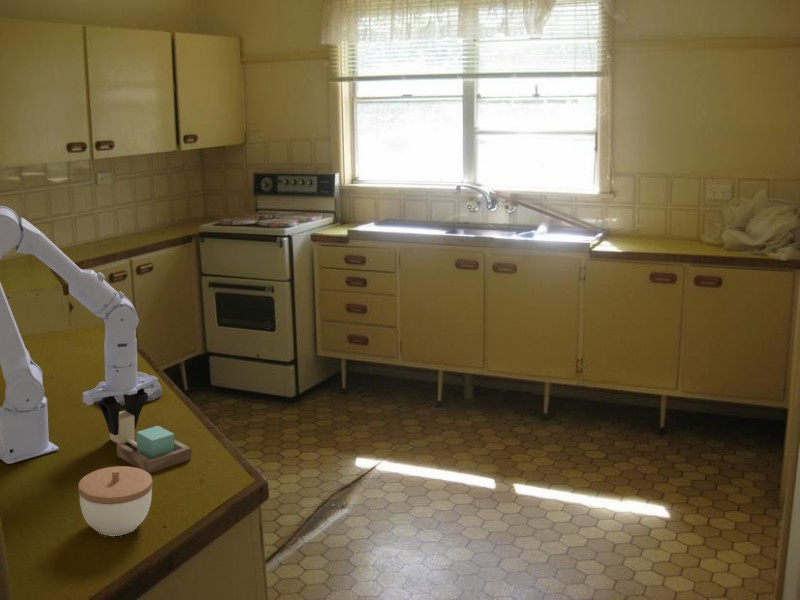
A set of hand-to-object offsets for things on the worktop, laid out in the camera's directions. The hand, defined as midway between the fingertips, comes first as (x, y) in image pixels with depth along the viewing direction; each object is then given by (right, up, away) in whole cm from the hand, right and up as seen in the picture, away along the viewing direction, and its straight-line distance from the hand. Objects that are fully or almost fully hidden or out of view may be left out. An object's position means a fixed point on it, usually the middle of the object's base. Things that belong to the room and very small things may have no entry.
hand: (122, 430), depth 164 cm
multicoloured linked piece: (+4, -3, -3) cm, 6 cm away
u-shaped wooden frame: (+7, -4, -6) cm, 10 cm away
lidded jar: (+9, -10, -30) cm, 33 cm away
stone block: (-5, +3, +22) cm, 22 cm away
